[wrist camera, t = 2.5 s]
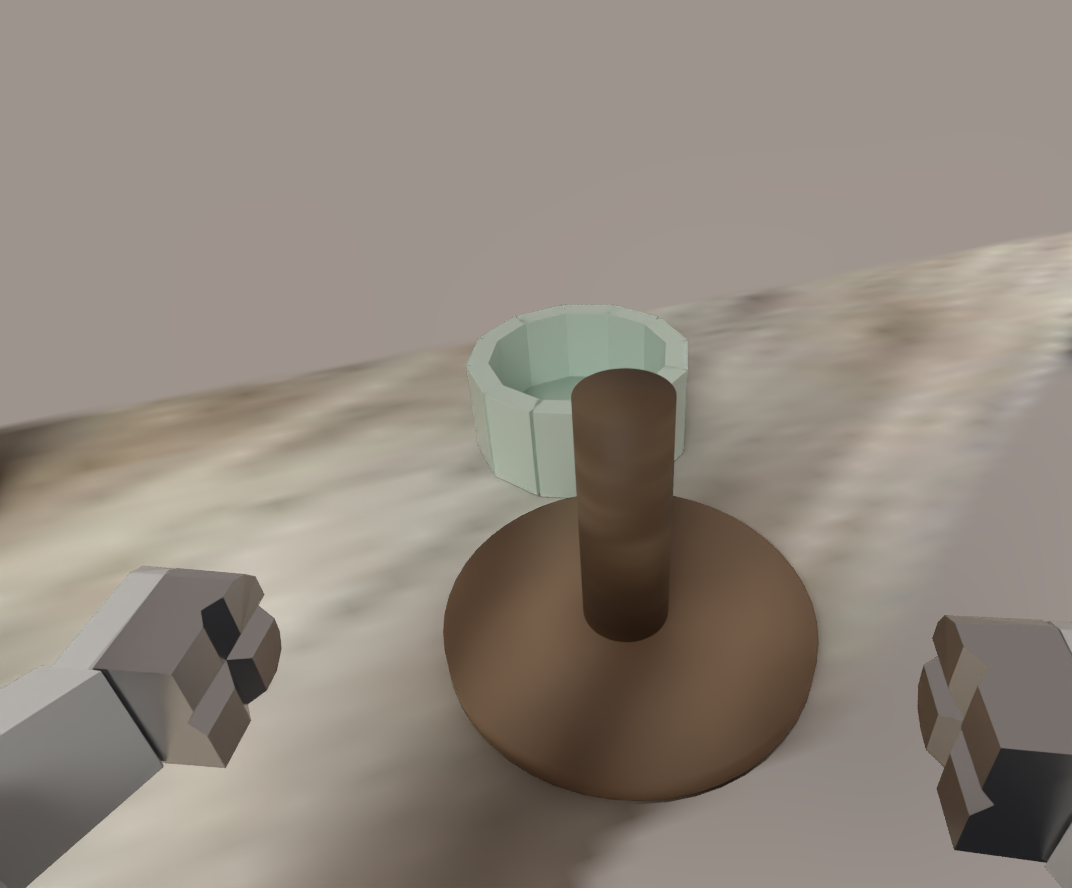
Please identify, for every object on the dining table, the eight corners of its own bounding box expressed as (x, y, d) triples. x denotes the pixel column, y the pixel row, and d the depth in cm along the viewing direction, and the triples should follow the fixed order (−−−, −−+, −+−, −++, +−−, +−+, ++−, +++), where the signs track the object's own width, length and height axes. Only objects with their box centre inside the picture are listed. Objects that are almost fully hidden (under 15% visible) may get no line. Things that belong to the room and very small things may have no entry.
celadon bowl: (459, 492, 34) (444, 410, 32) (502, 377, 42) (493, 304, 40) (683, 503, 33) (687, 417, 30) (684, 381, 41) (688, 305, 38)
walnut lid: (402, 777, 24) (323, 538, 18) (489, 505, 34) (459, 296, 28) (841, 829, 21) (922, 575, 15) (792, 520, 32) (829, 296, 26)
